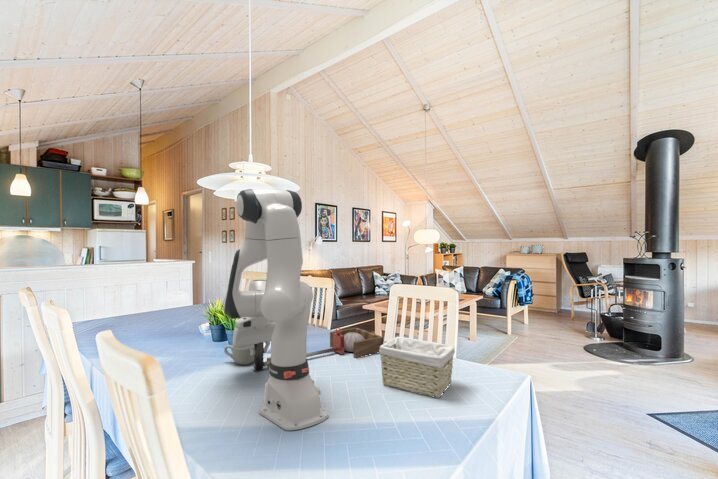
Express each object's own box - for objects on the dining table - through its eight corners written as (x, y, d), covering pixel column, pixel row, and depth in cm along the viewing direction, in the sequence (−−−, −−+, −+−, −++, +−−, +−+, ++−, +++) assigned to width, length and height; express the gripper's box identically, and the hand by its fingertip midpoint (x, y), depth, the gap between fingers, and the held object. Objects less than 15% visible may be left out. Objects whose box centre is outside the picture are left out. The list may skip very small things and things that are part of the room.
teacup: (261, 358, 155) (262, 340, 155) (252, 367, 144) (252, 348, 144) (231, 357, 156) (231, 339, 156) (219, 366, 146) (219, 347, 146)
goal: (383, 351, 165) (383, 337, 165) (355, 358, 156) (355, 342, 156) (356, 340, 183) (356, 327, 183) (329, 346, 174) (330, 332, 174)
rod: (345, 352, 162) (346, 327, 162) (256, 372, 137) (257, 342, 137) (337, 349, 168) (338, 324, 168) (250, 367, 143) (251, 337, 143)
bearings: (305, 362, 150) (305, 355, 150) (272, 370, 142) (272, 362, 142) (299, 358, 155) (299, 351, 155) (266, 365, 147) (266, 357, 147)
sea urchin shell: (335, 352, 164) (335, 335, 164) (343, 344, 177) (343, 328, 177) (363, 354, 161) (363, 337, 161) (368, 346, 174) (369, 330, 174)
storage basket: (456, 385, 128) (456, 344, 128) (441, 402, 114) (442, 357, 114) (396, 372, 140) (396, 335, 140) (377, 386, 127) (377, 345, 127)
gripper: (280, 315, 150) (279, 347, 150) (231, 321, 138) (231, 356, 138) (286, 317, 145) (286, 351, 145) (236, 324, 133) (235, 360, 133)
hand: (258, 353), depth 141 cm, fingers closed on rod, 4 cm apart
